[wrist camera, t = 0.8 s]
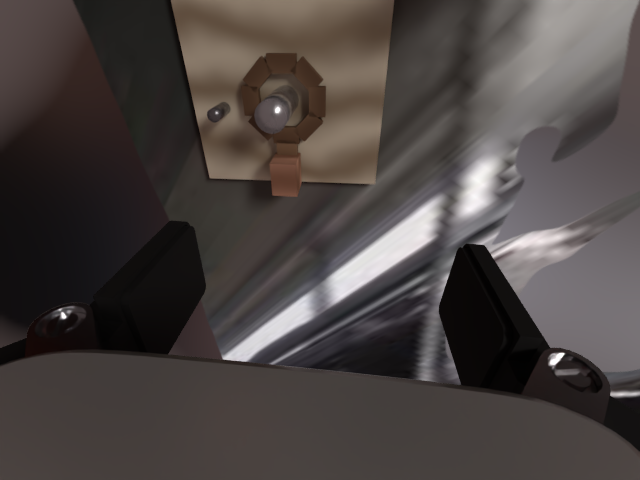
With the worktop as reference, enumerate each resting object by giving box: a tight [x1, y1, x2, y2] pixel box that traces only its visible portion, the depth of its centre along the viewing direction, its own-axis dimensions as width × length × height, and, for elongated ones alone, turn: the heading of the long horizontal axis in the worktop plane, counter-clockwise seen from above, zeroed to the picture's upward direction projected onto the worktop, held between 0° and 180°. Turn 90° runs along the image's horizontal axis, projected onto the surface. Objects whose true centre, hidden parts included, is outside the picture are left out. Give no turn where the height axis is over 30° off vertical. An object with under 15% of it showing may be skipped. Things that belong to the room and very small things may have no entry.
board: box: [171, 0, 394, 184], centre depth 36 cm, size 20×22×1 cm
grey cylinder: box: [207, 85, 299, 134], centre depth 33 cm, size 3×10×8 cm, turn 90°
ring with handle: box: [241, 53, 326, 197], centre depth 35 cm, size 15×9×4 cm, turn 0°
